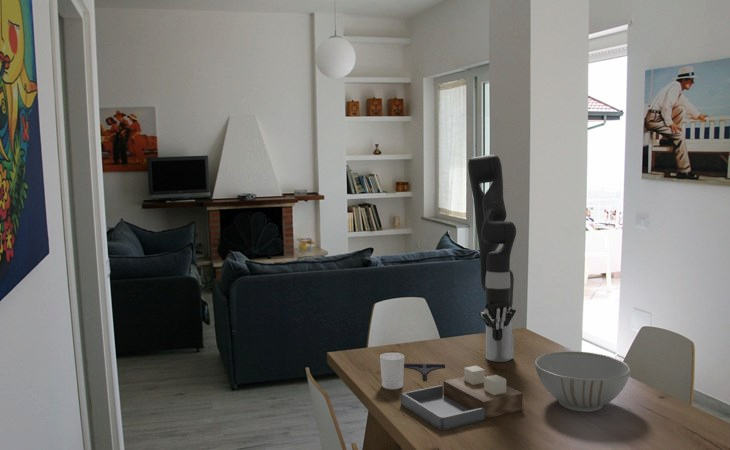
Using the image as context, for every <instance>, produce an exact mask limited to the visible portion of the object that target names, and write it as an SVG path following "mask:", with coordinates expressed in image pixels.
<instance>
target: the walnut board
mask: <svg viewBox="0 0 730 450" xmlns="http://www.w3.org/2000/svg"><path fill="white" fill-rule="evenodd" d="M485 377H488V375H485ZM523 394H524V393H523V392H521V391H519V390H518V389H517V390H516V389H514V388H512V387H510V386H508V385H506V393H501V394H497V395H492V394H490V393H488V392H486V391H484V383H479V384H474V385H472V384H470V383H468V382H466V381H464V376H461V377H455V378H451V379H447V380H443V395H444V396H446V397H447V398H449V399H451V400H453V401H455V402H456V403H458V404H460V405H462V406H464V407H465V408H467V409H469V410H473V409H478V408H482V407H483V408H485V419H491V418H494V417H497V416H501V415H506V414H510V413H514V412H515V413H516V412H519V411H523Z"/></svg>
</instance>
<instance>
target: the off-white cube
mask: <svg viewBox="0 0 730 450" xmlns="http://www.w3.org/2000/svg"><path fill="white" fill-rule="evenodd" d="M506 386H507V379H506V378H505V377H503V376H500V375H498V374H492V375H487V377H484V391H486V392H488V393H490V394H492V395H497V394H501V393H506Z"/></svg>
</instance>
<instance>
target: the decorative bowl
mask: <svg viewBox="0 0 730 450" xmlns="http://www.w3.org/2000/svg"><path fill="white" fill-rule="evenodd" d="M534 366H535V370H536V374H537V376H538V379H539V380H540V383H542V385H543V387H544V388H545V390H546V391H547V392H548V393H549V394H550V396H552V397H553V398H554V399H556V400H557V401H559V405H560V406H561V407H563V408H565V409H567V410H571V411H574V412H575V411H576V412H582V413H590V412H591V413H592V412H598V411H600V410H602V409H603V407H604V405H606V404H608V403H611V402H612V401H613V400H615V399H616V398H617V397H618V396H619V395H620V394H621V392H622V391H623V390H624V388H625V386H626V385H627V383H628V380H629V378H630V375H631V367H630V366H629V365H628V364H627V363H626V362H624V361H622V360H620V359H617V358H616V357H613V356H610V355H606V354H605V355H604V354H601V353H594V352H586V351H574V350H573V351H571V350H570V351H569V350H568V351H565V350H564V351H554V352H548V353H544V354H541V355H540V356H538V357H536V358H535V360H534Z"/></svg>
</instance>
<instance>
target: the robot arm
mask: <svg viewBox="0 0 730 450" xmlns="http://www.w3.org/2000/svg"><path fill="white" fill-rule="evenodd" d="M467 168H468V178H469V182H470V187H471V188H470V189H471V193H472V198H473V206H474V214H475V215H474V216H475V217H474V218H475V219H474V220H475V225H476V226H475V228H476V234H477V235H476V236H477V242H478V248H479V250H478V251H479V258H480V259H479V261H480V283H481V287H482V290H483V292H484V294H485V296H484V299H485V301H486V302H485V303H486V304H485V306H484V308H485V309H484V310H483V311H480V312H479V313H478V314H479V315H478V316H479V317H480V318H481V320H482V321H483V322H484V324H485V359H486V360H487V361H490V362H494V363H495V362H498V363H505V362H509V361H511V360H513V359H514V355H515V353H514V349H515V348H514V347H515V345H514V342H515V334H514V332H512V330H513V329H512V323H513V322H512V321H513V320H512V319H513V318H514V316H515V314H516V312H517V310H516V308H515V309H514V308H513V304H514V287H515V283H514V281H515V278H514V273H513V271H512V270H511V267H510V265H511V263H510V262H511V253H512V249H513V246H514V243H515V239H516V235H517V228H516V225H515V223H514V222H512V221H511V220H506V219H507V211H506V210H507V209H506V204H505V199H504V180H503V179H504V178H503V168H502V162H501V159H500V156H499V155H497V154H487V155H486V154H485V155H480V156H473V157H469V159H468V163H467ZM486 183H491V185H490V186H489V187H488V189H487V190H486V192H485V193H484V191H483V190H482V187H481V184H486ZM500 245H502V246H501V248H500V249H498V248H499V246H500Z"/></svg>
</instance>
